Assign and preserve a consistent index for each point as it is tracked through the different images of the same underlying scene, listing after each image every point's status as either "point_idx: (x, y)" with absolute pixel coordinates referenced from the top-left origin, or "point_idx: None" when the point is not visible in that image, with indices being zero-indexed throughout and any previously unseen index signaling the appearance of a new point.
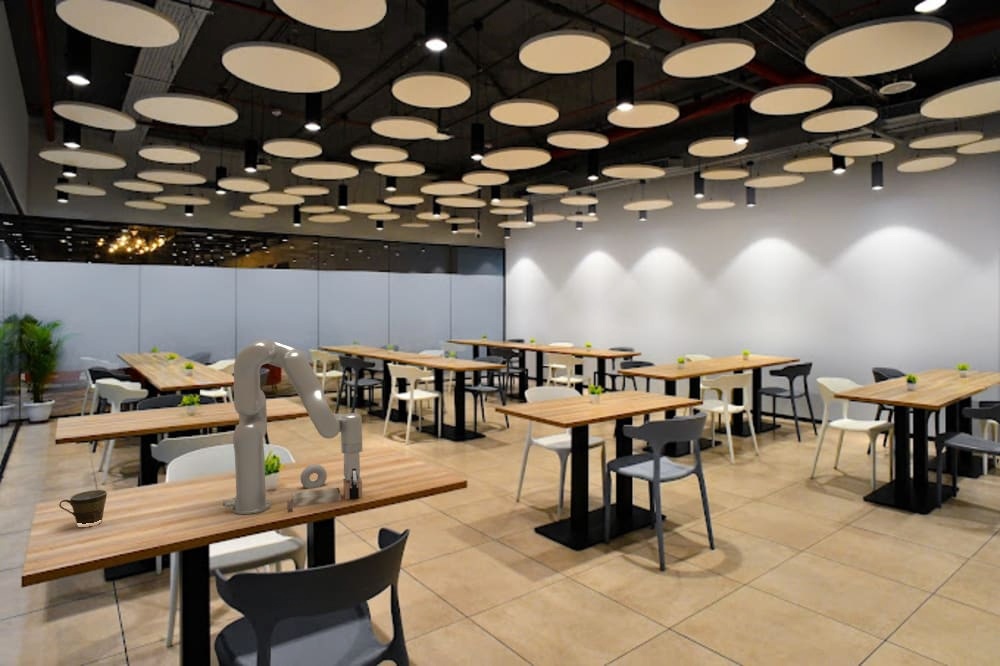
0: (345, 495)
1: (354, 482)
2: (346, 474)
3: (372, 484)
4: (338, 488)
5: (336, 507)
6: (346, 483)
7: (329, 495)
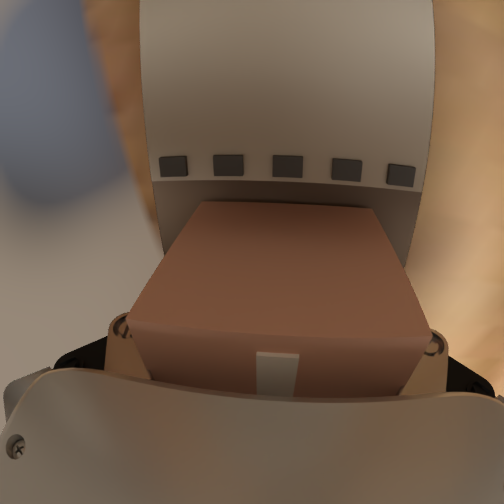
0: (190, 219)
1: (26, 385)
2: (2, 446)
3: (481, 372)
4: (385, 180)
5: (125, 108)
6: (132, 329)
7: (147, 36)
